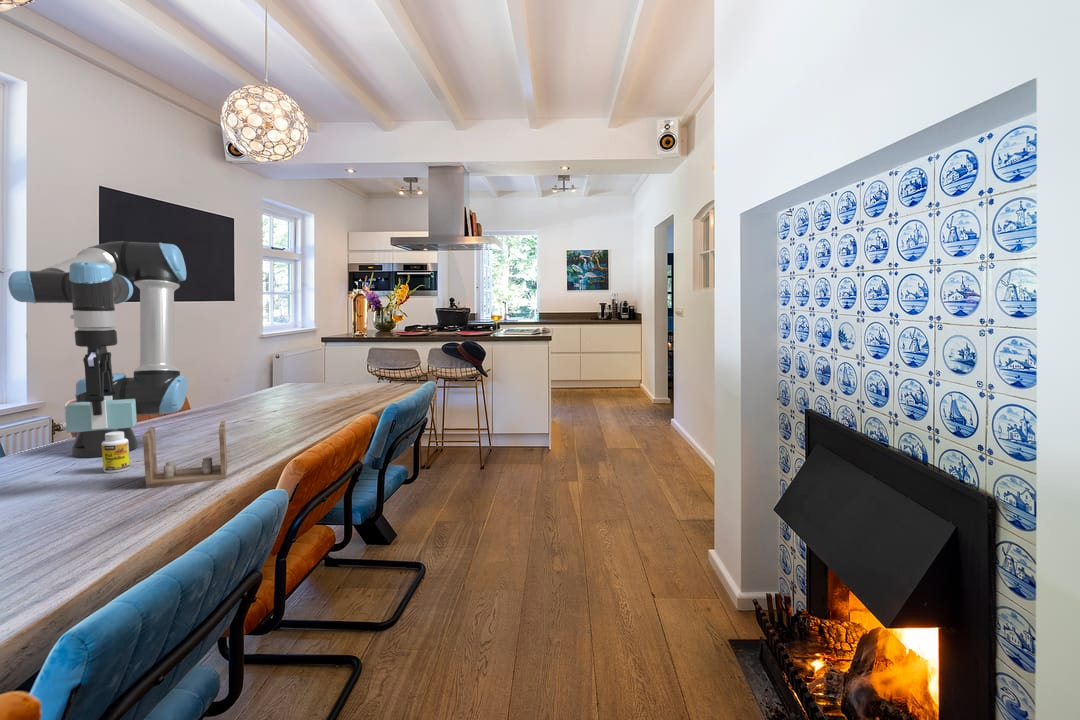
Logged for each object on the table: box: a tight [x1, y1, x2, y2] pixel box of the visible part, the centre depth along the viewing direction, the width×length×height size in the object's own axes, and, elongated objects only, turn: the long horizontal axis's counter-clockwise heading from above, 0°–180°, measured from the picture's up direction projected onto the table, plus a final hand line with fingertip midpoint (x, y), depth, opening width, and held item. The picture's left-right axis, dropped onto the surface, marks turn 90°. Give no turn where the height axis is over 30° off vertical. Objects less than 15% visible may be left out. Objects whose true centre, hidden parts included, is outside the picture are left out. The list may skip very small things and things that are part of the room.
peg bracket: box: [142, 420, 228, 489], centre depth 132 cm, size 10×16×13 cm, turn 119°
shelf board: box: [64, 399, 138, 434], centre depth 123 cm, size 6×12×6 cm, turn 121°
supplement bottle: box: [101, 431, 131, 474], centre depth 138 cm, size 6×6×10 cm
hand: (103, 425), depth 124 cm, fingers closed on shelf board, 6 cm apart
